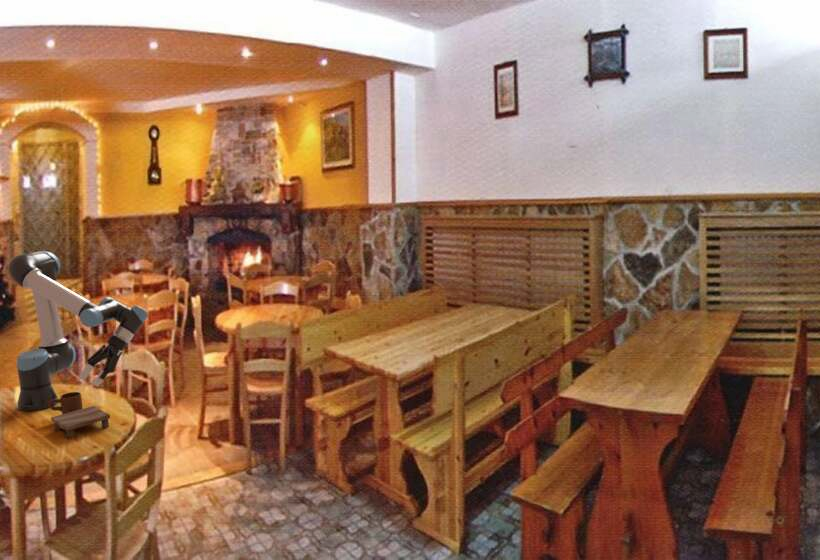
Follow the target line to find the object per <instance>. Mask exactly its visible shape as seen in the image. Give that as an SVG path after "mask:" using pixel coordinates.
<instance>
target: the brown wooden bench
mask: <svg viewBox="0 0 820 560" xmlns="http://www.w3.org/2000/svg"><path fill="white" fill-rule="evenodd" d="M50 418H51V419H50V420H51V422H52V423H53V427H54V431H55V432H58V431H60V430H62V429H63V430H65V435H66V438H67V439H68V440H70V439H69V438H71V439H74V438H75V434H74V430H75V429H79V428H81V427H85V426H88V425H93V424H95V423H96V424H97V423H99V422H101V428H102V427H103V428H102V429H106V427H108V428H109V427H110V425H109V419H111V414H109V413H107V412H106V411H104V410H103V409H100V408H98V407H96V406H94V405H93V406H92V405H91V406H89V407H85V408H84V407H83V409H80V410H77V411H73V412H70V413H66V414H62V413H61V414H59V415H55V416H52V417H50ZM73 437H74V438H73Z"/></svg>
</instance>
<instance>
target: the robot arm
mask: <svg viewBox="0 0 820 560" xmlns="http://www.w3.org/2000/svg"><path fill="white" fill-rule="evenodd" d="M7 271H8V272H7V273H8V276H9V277H10V279H11V280H12V281H13V282H15V284H17V285H18V286H19V287H22V288H24V289H25V290H29V289H31V290H32V296H33V303H34V307H35V312H36V318H37V323H38V329H39V334H40V340H41V341H40V342H39V343H38V345H37V346H38V348H34V349H31V350H26V351H23V352H22V353H20V354H19V355H18V356H17V358H16V368H17V374H18V382H19V390H20V391H19V395H18V400H17V403H16V404H17V410H19V411H21V412H34V411H35V410H36V411H40V410H45V409H48V408H49V406H48V403H49V401H50V400H52V399H54V398H57V399H59V398H58V395H57V393H56V391H55V389H54V387H53V385H52V378H51V377H52V376H53V375H56V374H57V373H61V372H64V371H66V370H67V369H68V368H70V367H72V366H73V364H74V363H75V361H76V359H77V358H76V357H77V352H76V349H75V347H74V346H73V345H72V344H70V343H69V341H68V340H69V339H67V338H66V337H64V334H63V328H62V323H61V318H60V312H59V311H60V310H59V307H58V306H60V307H62V308H63V309H65V310H66V311H68V312H70V313H72V314H74V315H75V316H77V317H78V318H79V320H80V323H81V324H82V325H83V326H85V327H87V328H92V327H98V326H99V325H102V324H103V323H106V322H110V321H112V320H114V321H116V322H118V323H119V325H117V327H116V328H115V330H114V331H113V333H112V334H111V335H110V337H109V338H108V339H107V340H106V342H107V345H106V344H102V346H101V347H100V348H99V349H98V350H97V351H96V352H95V353H93V354H92V355H91V356H90V357H89V358H87V360H86V362H87V364H86V366H85V368H84V369H82V370H81V373H80V374H79V375H78V376H77V378H79V379H80V380H82V381H85V380H86V379H87V377H88V376H89V375H90V373H91V372H92V370H93V369H94V368H95V367H96V365H97V364H98V363H100V362H102V361H103V360H105V359H106V360H105V365H104V367H103V368H102V369H101V370H100V372H99V373H98V375H97V376H96V377H95V379H94V380H93V381H92V383H91V384H92V385H94V386H95V387H97V388H98V387H99V386H100V385H101V383H103V381H104V380H105V378H106V377H107V376H108V374H110V373H112V374H113V373H114V372H115V368H116V366H117V364H118V362H119V359H120V358H121V355H122V354H123V351H124V350H125V348H126V347H127V346H128V344H129V343H130V342H131V340H133V338H134V336H135V335H136V334H137V333H138V331H139V330H140V328H141V327H142V326H143V325H144V323H145V322H146V320H147V318H148V317H149V313H148V312H147V310H146V309H144V308H142V307H141V306H139V305H133V306H132V307H129V306H127V305H126V304H124V303H122V302H121V301H118V300H117V299H115V298H113V297H110V296H106V297H104V298H103V299H102V300H100V302H99V303H98V305H97V304H95V303H93V302H91V301H89V299H86V298H85V297H83V296H82V295H80V294H77V293H76V292H74V291H72V290H70V289H69V288H67V287H65V286H64V285H62V284H60V283H59V282H58V278H57V274H59V273H60V271H61V262H60V259H59V258H58V256H56V255H55V254H54V253H53V252H51V251H47V250H43V251H42V250H41V251H35V252H30V253H25V254H18V255H16V256H14V257H13V258H12V259H11V260H10V261H9V263H8V266H7ZM52 404H53V406H56V405H57V404H58V403H57V402H54V403H52ZM49 409H50V408H49Z"/></svg>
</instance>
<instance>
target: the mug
mask: <svg viewBox="0 0 820 560" xmlns="http://www.w3.org/2000/svg"><path fill="white" fill-rule="evenodd" d="M54 402H57V404H60V405H59V406H58V405H57V406H56V405H54V406H53V404H52V403H54ZM48 406H49V409H50V410H51V411H55V412H56V411H59V412H61V415H62V414H66V413H70V412H73V411H77V410H80V409H84V407H83V400H82V394H81V393H80V392H78V391H72V392H71V391H70V392H66V393H62V395H60V397H59V398H58V399H57V398H54V399H52V400H50V401H49V403H48Z"/></svg>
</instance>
